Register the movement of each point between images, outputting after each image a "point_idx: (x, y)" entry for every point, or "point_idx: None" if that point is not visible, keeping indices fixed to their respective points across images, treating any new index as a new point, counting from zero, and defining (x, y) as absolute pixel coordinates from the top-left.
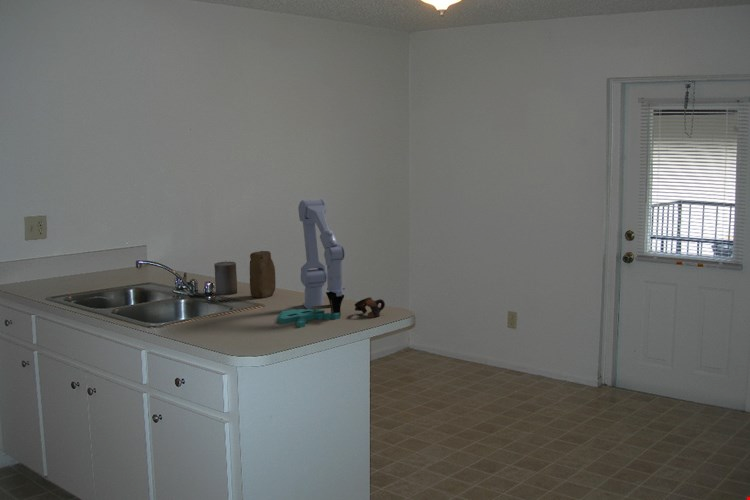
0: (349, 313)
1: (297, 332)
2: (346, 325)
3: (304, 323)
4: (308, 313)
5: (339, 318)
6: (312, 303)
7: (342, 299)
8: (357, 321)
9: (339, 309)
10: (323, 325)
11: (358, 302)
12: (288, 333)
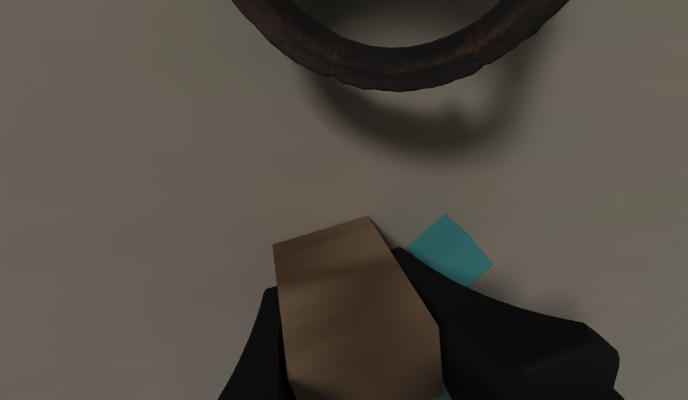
0: (245, 134)
1: (660, 372)
2: (670, 152)
3: None
4: None
5: (448, 218)
6: None
7: (536, 313)
8: (602, 56)
9: (417, 261)
10: (598, 293)
11: (540, 19)
12: (655, 396)
